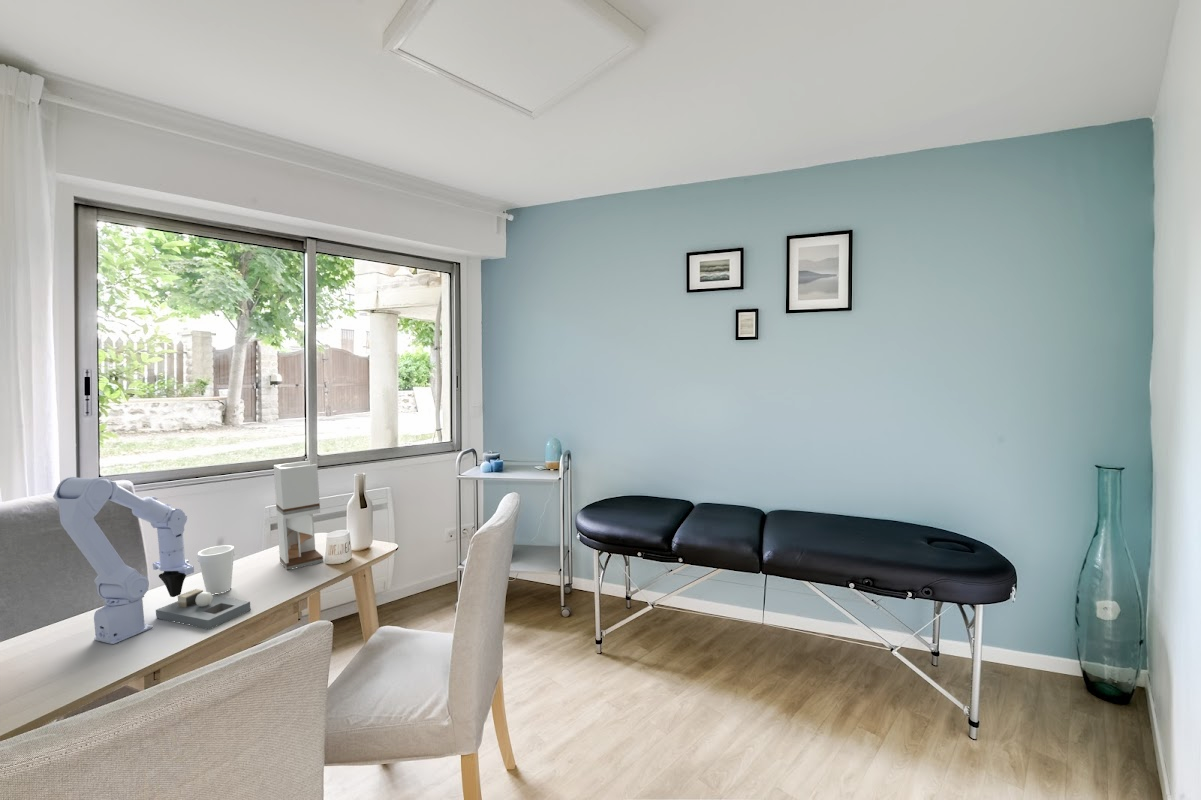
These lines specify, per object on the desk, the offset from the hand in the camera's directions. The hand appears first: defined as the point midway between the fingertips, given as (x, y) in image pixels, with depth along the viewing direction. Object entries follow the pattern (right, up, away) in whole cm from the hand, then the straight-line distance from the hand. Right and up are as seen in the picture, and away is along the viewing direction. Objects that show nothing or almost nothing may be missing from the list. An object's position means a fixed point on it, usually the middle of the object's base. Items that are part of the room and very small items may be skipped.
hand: (175, 595), depth 162 cm
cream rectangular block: (+6, -2, -2) cm, 7 cm away
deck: (+11, -4, -4) cm, 12 cm away
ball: (+11, 0, -4) cm, 12 cm away
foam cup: (+4, -3, +13) cm, 14 cm away
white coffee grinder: (+17, -1, +37) cm, 40 cm away
